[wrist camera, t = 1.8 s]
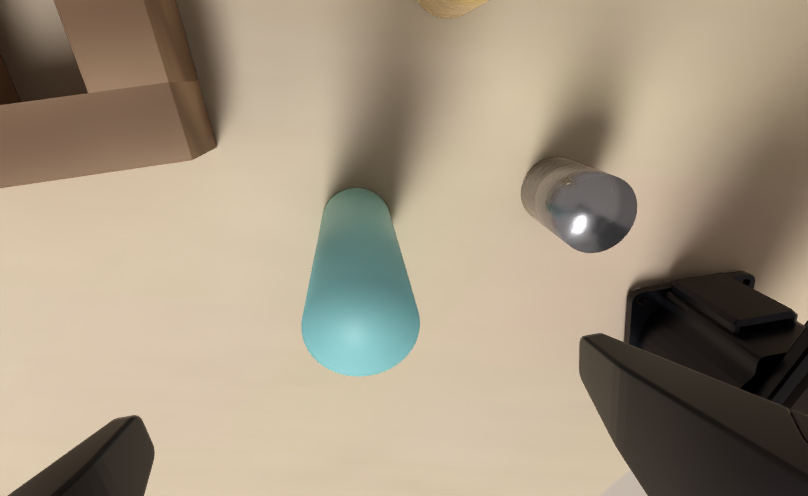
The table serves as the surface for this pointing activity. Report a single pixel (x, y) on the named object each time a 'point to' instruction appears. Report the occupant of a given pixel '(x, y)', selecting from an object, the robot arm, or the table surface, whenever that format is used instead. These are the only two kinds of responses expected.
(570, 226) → the pin short
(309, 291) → the pin long
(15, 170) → the hole block
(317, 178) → the table surface
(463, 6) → the pin medium
